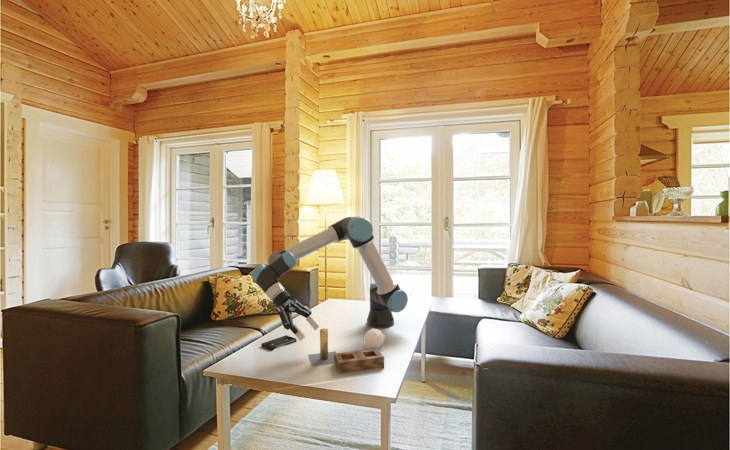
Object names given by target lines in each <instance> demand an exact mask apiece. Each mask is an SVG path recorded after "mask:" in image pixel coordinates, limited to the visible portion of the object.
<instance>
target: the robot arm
mask: <svg viewBox="0 0 730 450" xmlns="http://www.w3.org/2000/svg"><path fill="white" fill-rule="evenodd" d="M373 231H374V227H373V224H372V223H371V221H370V220H369V219H368V218H366V217H363V216H347V217H344V218H342V219H340V220H338V221H337V222H335V223H333V224H331V225H329V226H328V228H327V229H325V230H322V231H321V232H320V231H319V233H316V234H314V235H312V236H310V237H308V238H306V239H304V240H301V241H299V242H297V243H294V244H293V245H291V246H288V247H287V248H284V249H282V250H280V251H277V252H273V253H270V254H269V256H268V257H267V263H268V265H265V264H264V263H261V264H260V265H257V266H255V268H254V269H253V270H252V271H251V274H250V275H251V278H252V279H253V280H254V282H255V283H256V285H257V286H258V287H259V288H260V289H261V290H262V292H263V293H265V295H266V296H267V298H268V299H269V300H270V301H272V302H271V303H272V304H273V305H274V306H275V308H276V309H275V311H276V312H277V314H278V317H279V319H280V321H281V323H282V325H283V329H285V330H286V331H289V330H290V331H291V332H292V333H293V334H294V335H295V336H296V337H295V338H296V339H298V340H299V342H301V341H302V340H303V339H305V337H306V335H305V334H304V333H303V331H302V330H301V329H300V328H299V327H298V325H296V323H294V319H293V316H292V314H294V313H296V314H298V315H300V316H302V317H303V318H305V321H307V322H308V324H309V325H310V326H311V328H313V330H314V331H317V330H318V329H319V328H320V324H319V323H318V322H317V321H316V320H315V319H314V316H312V314H313V313H312V310H310V309H309V308H308V307H306V306H305V305H303V304H302V303H301V302H299V301H298V300H297V299H296V298H294V299H293V300H292V299H291V298H292V295H291V294H290V293H289V292H288V290H286V288H285V287H284V285H283V284H282V283H281V282H280V281H279V279H280V278H281V277H283V276H284V275H285V274H287V273H288V272H289V271H290V270H292V269H293V268H295V266H296V265H297V264H298V260H300V259H302V258H304V257H306V256H309V255H311V254H312V253H314V252H316V251H319V250H320V249H323V248H324V247H327V246H329V245H331V244H333V243H336V244H337V243H340V242H342V241H345V240H349V242H350V244H351V246H352V248H353V249H355V250H358V253H359V255H360V257H361V259H362V260H363V262H364V264H365V266H366V268H367V270H368V272H369V274H370V276H371V277H372V279H373V281H374V282H371V283H370V284H369V312H368V315H367V318H366V325H368V326H370V327H372V328H373V327H374V328H380V329H381V328H388V327H393V326H394V325H395V318H394V315H393V313H400V312H402V311H404V310H405V308H406V307H407V306H408V305H407V304H408V302H409V301H408V300H409V299H408V294H407V293H406V292H405V291H404V289H403V290H402V289H401V288H400V286H399V284H398V282H397V281H396V280H393V278H392V277H391V274H390V272H389V271H388V269H387V267H386V265H385V263H384V260H383V259H382V256H381V255H380V252H379V250H378V249H377V246H376V245H375V243H374V239H375V236H374V234H373Z"/></svg>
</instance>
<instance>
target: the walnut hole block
mask: <svg viewBox="0 0 730 450" xmlns="http://www.w3.org/2000/svg"><path fill="white" fill-rule="evenodd" d="M333 365H334V367H335V369H336V370H337V372H338V374H339V375H340V374H347V373H354V372H361V371H367V370H369V371H370V370H375V369H385V356H384V355H383V354H382V353H381V352H380V350H379V348H377V349H370V348H369V349H364V350H363V349H362V350H361V349H360V350H356V351H355V350H353V351H347V352H339V353H337V352H336V354H334V364H333Z"/></svg>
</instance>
